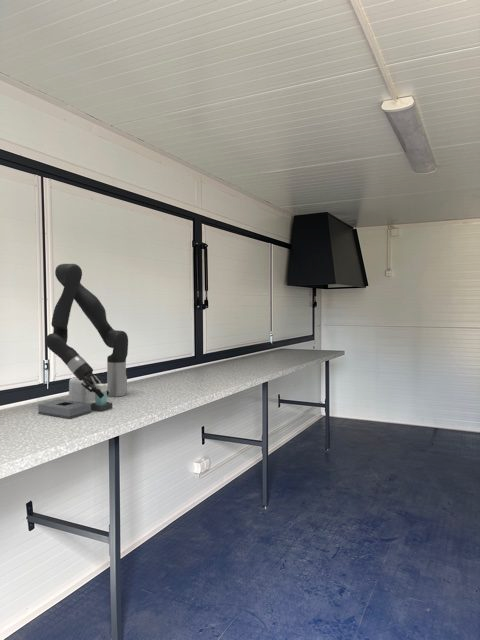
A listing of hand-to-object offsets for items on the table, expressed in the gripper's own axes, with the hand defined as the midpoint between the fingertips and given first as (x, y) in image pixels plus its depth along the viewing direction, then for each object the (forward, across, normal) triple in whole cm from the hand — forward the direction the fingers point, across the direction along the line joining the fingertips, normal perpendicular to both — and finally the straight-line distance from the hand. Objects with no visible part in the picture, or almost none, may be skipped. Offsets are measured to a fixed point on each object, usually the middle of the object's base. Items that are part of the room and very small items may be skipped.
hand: (105, 395), depth 203 cm
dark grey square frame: (+3, 0, +6) cm, 6 cm away
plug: (+2, 0, +4) cm, 5 cm away
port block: (-5, -11, +13) cm, 18 cm away
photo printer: (-8, +8, +17) cm, 20 cm away
